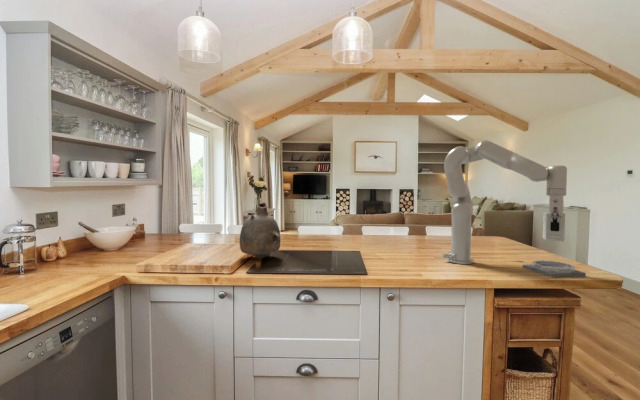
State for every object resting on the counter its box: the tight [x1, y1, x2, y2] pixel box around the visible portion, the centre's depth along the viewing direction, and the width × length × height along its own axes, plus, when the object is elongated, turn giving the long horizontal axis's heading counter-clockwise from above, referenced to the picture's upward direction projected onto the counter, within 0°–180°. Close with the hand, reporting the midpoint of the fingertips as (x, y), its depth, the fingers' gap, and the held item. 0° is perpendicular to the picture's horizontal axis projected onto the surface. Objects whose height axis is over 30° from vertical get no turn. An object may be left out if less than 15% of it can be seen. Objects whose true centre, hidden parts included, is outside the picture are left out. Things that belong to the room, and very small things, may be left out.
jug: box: [239, 202, 281, 259], centre depth 178 cm, size 24×21×30 cm
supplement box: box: [542, 212, 566, 242], centre depth 155 cm, size 7×7×13 cm
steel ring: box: [531, 259, 576, 273], centre depth 156 cm, size 16×16×2 cm
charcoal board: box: [522, 263, 586, 278], centre depth 156 cm, size 17×17×2 cm
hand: (555, 229), depth 155 cm, fingers closed on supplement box, 8 cm apart
